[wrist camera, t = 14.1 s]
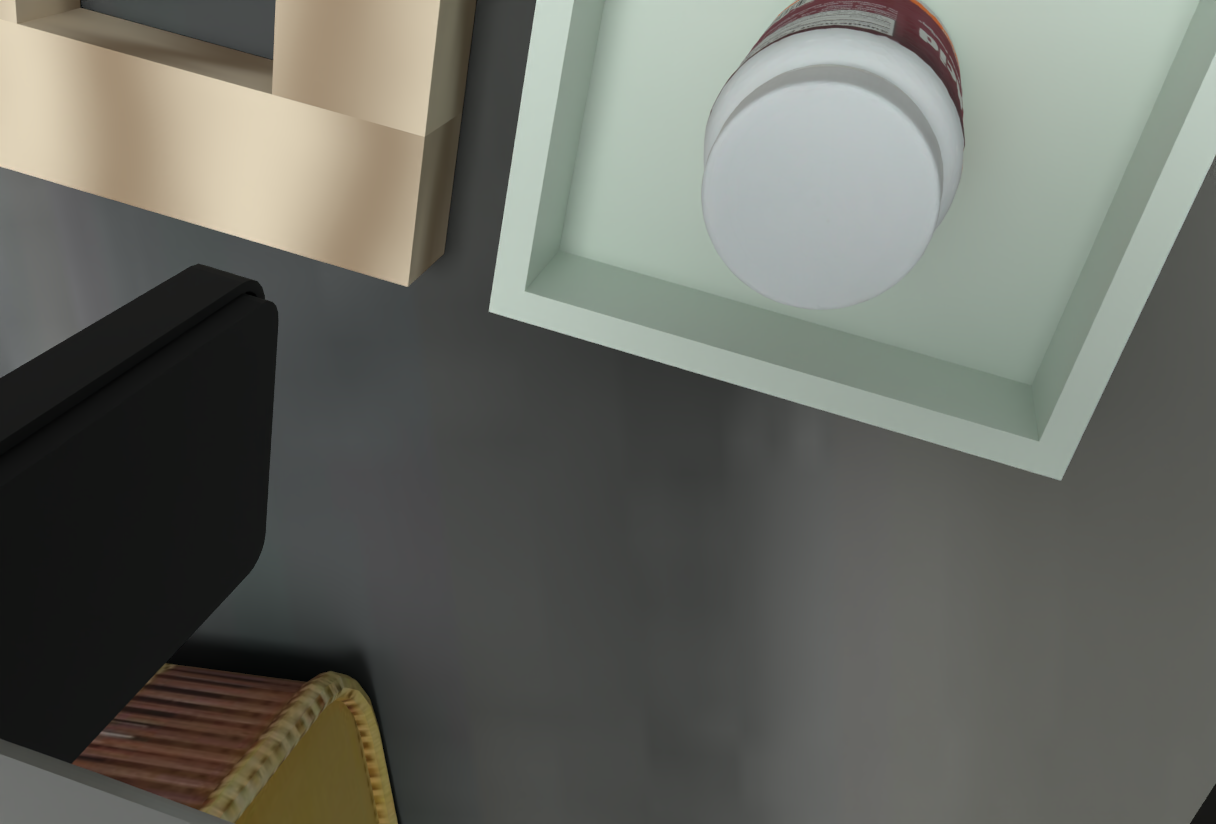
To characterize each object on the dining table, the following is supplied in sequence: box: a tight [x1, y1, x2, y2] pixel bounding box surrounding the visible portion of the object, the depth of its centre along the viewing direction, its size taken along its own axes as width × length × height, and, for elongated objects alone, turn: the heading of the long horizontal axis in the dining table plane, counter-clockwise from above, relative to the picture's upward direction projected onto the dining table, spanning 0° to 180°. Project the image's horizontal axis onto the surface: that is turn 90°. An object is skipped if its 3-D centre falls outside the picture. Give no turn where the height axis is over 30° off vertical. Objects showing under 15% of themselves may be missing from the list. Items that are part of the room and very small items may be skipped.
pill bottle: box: [701, 0, 965, 310], centre depth 23 cm, size 5×5×8 cm
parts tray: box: [489, 0, 1216, 481], centre depth 25 cm, size 14×14×4 cm
